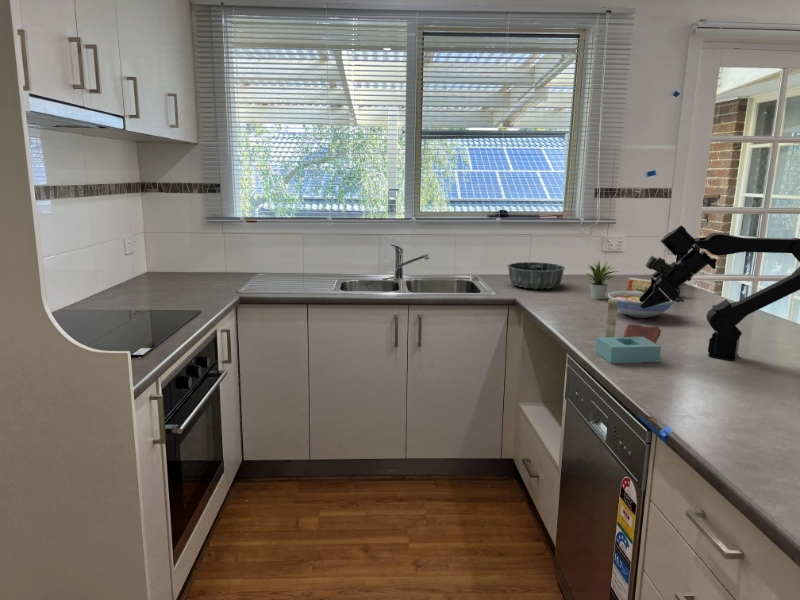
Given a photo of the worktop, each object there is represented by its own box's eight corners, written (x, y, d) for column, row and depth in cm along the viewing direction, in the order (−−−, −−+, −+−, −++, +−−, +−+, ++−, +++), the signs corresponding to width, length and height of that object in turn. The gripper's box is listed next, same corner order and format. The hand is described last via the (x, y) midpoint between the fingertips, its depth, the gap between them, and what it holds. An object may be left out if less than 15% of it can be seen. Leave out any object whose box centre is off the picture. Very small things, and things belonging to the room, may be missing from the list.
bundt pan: (563, 293, 249) (565, 271, 247) (503, 290, 256) (504, 268, 254) (563, 283, 274) (565, 263, 271) (509, 280, 281) (510, 261, 279)
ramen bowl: (592, 310, 215) (594, 289, 214) (645, 307, 220) (647, 287, 218) (631, 325, 191) (633, 302, 190) (690, 322, 196) (692, 299, 194)
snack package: (680, 297, 241) (682, 281, 240) (675, 299, 236) (677, 283, 235) (630, 291, 255) (632, 276, 254) (625, 293, 250) (626, 278, 249)
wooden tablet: (627, 326, 193) (628, 322, 192) (659, 330, 188) (660, 325, 188) (618, 345, 170) (618, 340, 169) (654, 350, 165) (654, 344, 165)
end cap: (595, 352, 161) (596, 337, 160) (641, 351, 162) (642, 336, 161) (610, 363, 151) (611, 347, 150) (659, 362, 152) (660, 346, 151)
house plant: (603, 304, 226) (607, 263, 223) (573, 298, 236) (576, 260, 233) (621, 299, 236) (624, 260, 232) (591, 294, 246) (594, 257, 242)
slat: (605, 343, 170) (608, 298, 167) (613, 344, 169) (617, 299, 166) (604, 347, 166) (608, 301, 163) (613, 348, 165) (617, 301, 162)
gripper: (663, 243, 166) (620, 278, 172) (668, 250, 149) (621, 289, 155) (690, 271, 165) (646, 305, 171) (699, 281, 147) (650, 319, 153)
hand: (640, 304), depth 162 cm, fingers open, 9 cm apart
